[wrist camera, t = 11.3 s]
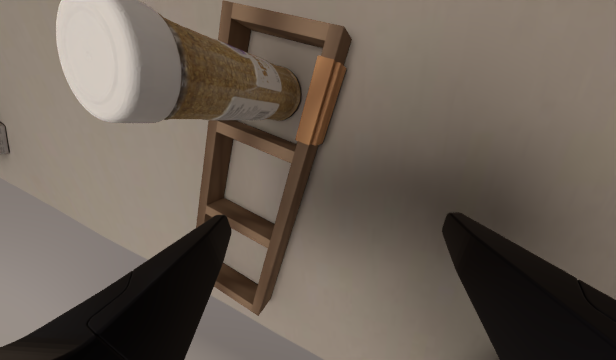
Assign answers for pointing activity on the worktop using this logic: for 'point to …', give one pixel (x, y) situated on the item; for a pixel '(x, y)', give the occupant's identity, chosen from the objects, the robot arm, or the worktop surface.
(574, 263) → the worktop surface
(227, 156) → the rack
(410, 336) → the worktop surface
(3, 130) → the coffee box
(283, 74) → the sprinkles bottle
